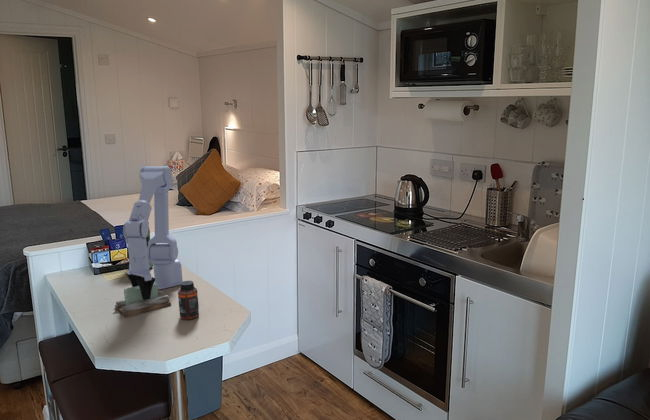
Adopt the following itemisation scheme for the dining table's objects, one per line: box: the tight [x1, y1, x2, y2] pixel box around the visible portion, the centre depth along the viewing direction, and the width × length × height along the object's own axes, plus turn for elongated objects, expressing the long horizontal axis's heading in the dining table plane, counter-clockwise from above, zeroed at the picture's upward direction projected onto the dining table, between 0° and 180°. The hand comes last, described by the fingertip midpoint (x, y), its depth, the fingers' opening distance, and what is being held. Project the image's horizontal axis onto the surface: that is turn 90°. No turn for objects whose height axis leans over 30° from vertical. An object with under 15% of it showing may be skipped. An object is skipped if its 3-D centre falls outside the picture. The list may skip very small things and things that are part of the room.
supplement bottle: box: [177, 280, 200, 321], centre depth 164 cm, size 6×6×11 cm
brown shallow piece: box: [114, 289, 172, 318], centre depth 174 cm, size 15×10×3 cm, turn 129°
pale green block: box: [123, 283, 159, 306], centre depth 173 cm, size 10×3×6 cm, turn 129°
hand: (142, 296), depth 173 cm, fingers open, 7 cm apart
